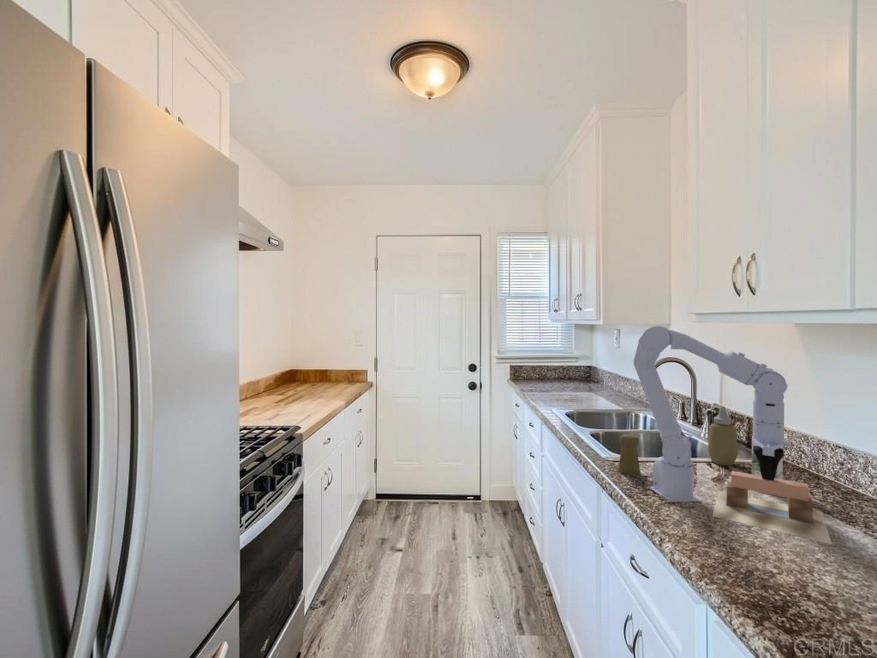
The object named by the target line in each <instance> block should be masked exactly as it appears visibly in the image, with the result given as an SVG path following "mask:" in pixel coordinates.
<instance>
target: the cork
mask: <svg viewBox="0 0 877 658" xmlns="http://www.w3.org/2000/svg"><path fill="white" fill-rule="evenodd" d="M619 442H620V445H621V448H620V449H621V450H620V456H619V462H618V468H617V469H618V472H619V473H620V474H625V475H628V476H629V475H630V476H636V475H637V476H638V475H640V474H641V468H640V462H639V456H638V454H639V453H638V448H637V447H638V446H639V438H638V437H637V436H636V435H634V434H629V433H627V434H626V433H624V434H622V435H620V437H619Z"/></svg>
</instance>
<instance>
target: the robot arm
mask: <svg viewBox="0 0 877 658" xmlns="http://www.w3.org/2000/svg"><path fill="white" fill-rule="evenodd" d="M669 346H670V350H684V351H686V352H688V353H691V354H693V355H696V356H697V357H700V358H701V359H704V360H706V361H709V362H711V363H713V364H715V365H716V366H717V369H718V372H719V373H721V374H723V375H724V376H727V377H729V378H731V379H733V380H736V381H737V382H739V383H741V384H744V385H745V386H752V387H753V389H754V393H753V394H754V395H753V396H754V398H753V402H752V403H753V404H752V406H753V407H752V409H753V410H752V416H753V417H752V436H753V437H752V436H751V443H752V442H754V443H755V444H757V445H758V446H753V451H754V453H755V455H756V457H757V459H758V462H759V466H760V472H761V476H762V479H766V480H772V481H774V478H775V475H776V470H777V467H778V464H779V462H780V460H781V459H782V457H783V458H784V454H785V451H784V447H791V446H792V443H791V442H790V441H786V440H785V402H784V399H785V395H784V393H785V392H786V391H787V389H788V384H787V382H786V379H785V378H784V376H783V375H782V374H781V373H780V372H777V371H775V370H773V369H772V368H769V367H768V365H767V364H765V363H758V362H756V361H754V360H752V359H749V358H748V357H746V354H744V353H742V352H741V351H739V352H738V353H736V352H734V351H730V352H725V353H723V352H721V351H719V350H717V349H715V348H714V347H712V346H710V345H707V344H706V343H703V342H702V341H699V340H697V339H695V338H694V337H691V336H690V335H688V334H685V333H682V332H679V331H676V330H672V329H668V328H666V327H665V326H662V325H656V326H655V325H654V326H651V327H648V328H647V329H646V330H645V331H643V333H642V335H640V337H639V339H638V342H637V347H636V349H635V355H634V358H633V360H632V361H633V366H634V368H635V369H634V370H635V371H636V374H637V376H638V379H639V381H640V384H641V387H642V389H643V391H644V394H645V396H646V397H645V398H646V399H647V401H648V405H649V407H650V409H651V412H652V415H653V417H654V419H655V422H656V425H657V427H658V431H659V436H660V439H661V443H662V450H661V452H662V453H661V454H662V456H660V457H657V459H655V461H654V463H653V465H652V466H653V467H652V470H653V471H652V472H653V475H652V477H653V479H652V482H653V483H652V486H650V487H649V489H650V490H651V491H653V492H655V493H656V494H657V495H661V496H662V497H664V498H665V499H667V500H668V501H669V502H672V503H673V502H675V503H677V502H697V501H699V502H700V501H702V499H701V498H699V497H697V496H696V495H694V461H693V460H692V450H691V449H692V442H691V440H690V438H689V437H688V436H687V435H686V434H685V433H684V432H683V430H682V428H681V425H680V424H679V422H678V419H677V418H676V415H675V413H674V409H673V408H672V406H671V402H670V400H669V397H668V395H667V393H666V389H665V387H664V385H663V383H662V380H661V377H660V374H659V373H658V370H657V367H656V365H655V364H656V362H657V360H658V359H659V357H660V355H661V353H662V352H664V350H665V349H666V348H668V347H669ZM781 447H783V449H782V448H781Z"/></svg>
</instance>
